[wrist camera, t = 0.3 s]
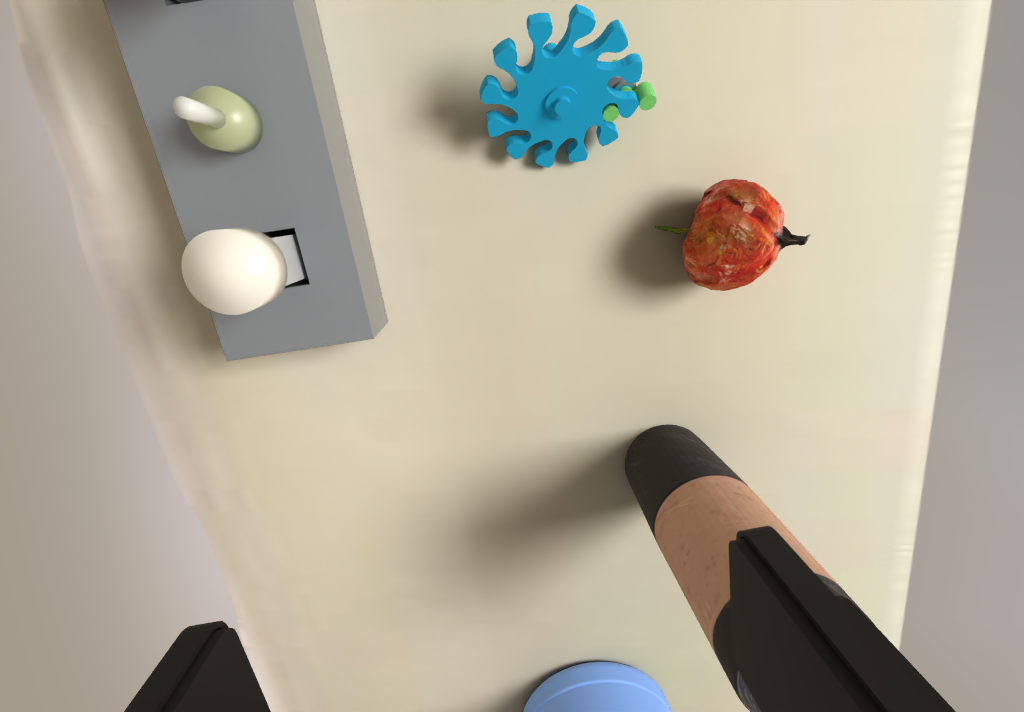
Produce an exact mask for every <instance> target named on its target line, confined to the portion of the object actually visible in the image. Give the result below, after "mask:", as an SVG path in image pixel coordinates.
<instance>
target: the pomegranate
mask: <svg viewBox="0 0 1024 712" xmlns="http://www.w3.org/2000/svg"><path fill="white" fill-rule="evenodd" d="M783 221H784V212H783V210H782V209H781V206H780V205H779V203H778V202H777V201H776V200H775V199H774V198H773V197H772V196H771V195H770V194H769V193H768V191H766V190H765V189H764V188H762V187H761V186H759V185H758V184H756V183H753V182H748V181H747V180H736V179H731V180H723V181H720V182H718V183H716V184H714V185H713V186H711V187H710V188H709V189H707V190H706V191H705V192H704V196H703V198H702V201H701V202H700V204H699V205H698V206H697V208H696V210H695V212H694V215H693V222H692V225H691V227H690V229H688V228H671V227H661V226H655V228H658V229H662V230H670V231H672V232H674V233H676V234H679V233H683V232H688V234H687V236H686V238H685V240H684V242H683V258H684V266H685V268H686V270H687V271H689V272H688V275H689V277H690V279H691V280H692V281H693V282H694V283H695V284H697V285H699V286H702V287H706V288H709V289H711V290H722V291H725V290H731V289H735V288H739V287H741V286H745V285H747V284H749V283H751V282H753V281H754V280H755V279H757V278H758V277H759V276H760V275H762V274H763V273H764V272H765V271H766V270H767V269H768V268H770V266H771V265H772V264H773V263H774V261H775V260H776V259H777V256H778V253H779V251H780V250H781V249H783V248H784V247H786V246H789V245H797V244H798V245H805V244H806V242H807V240H808V238H809V236H810V235H808V236H806V237H804V236H796V235H792V234H791V233H790V231H789V230H788V229H787V228H786V227H785V226H783Z"/></svg>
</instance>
